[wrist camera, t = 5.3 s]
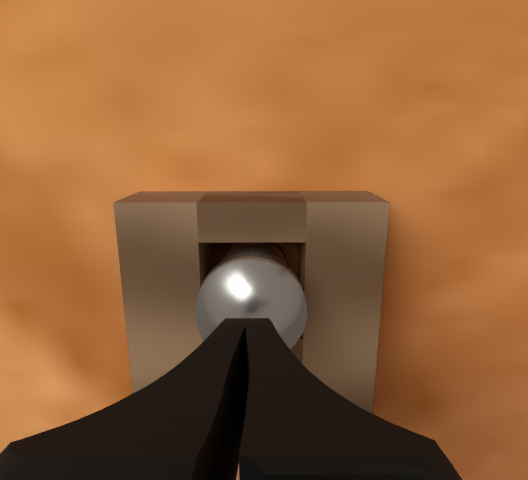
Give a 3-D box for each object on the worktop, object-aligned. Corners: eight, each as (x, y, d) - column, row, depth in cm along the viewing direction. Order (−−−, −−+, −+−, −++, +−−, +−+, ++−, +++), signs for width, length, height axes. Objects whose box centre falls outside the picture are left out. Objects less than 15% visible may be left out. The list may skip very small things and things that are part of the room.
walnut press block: (344, 542, 22) (356, 604, 19) (168, 542, 22) (154, 604, 19) (367, 191, 17) (389, 202, 14) (139, 191, 17) (113, 202, 14)
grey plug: (295, 309, 18) (305, 363, 13) (213, 309, 18) (197, 363, 13) (297, 229, 17) (308, 259, 13) (210, 229, 17) (192, 260, 13)
